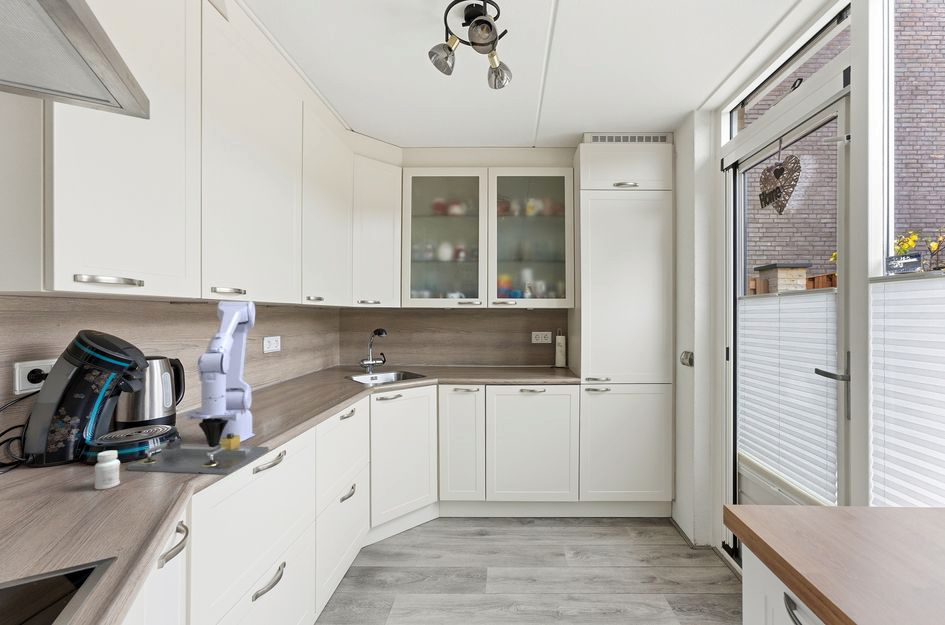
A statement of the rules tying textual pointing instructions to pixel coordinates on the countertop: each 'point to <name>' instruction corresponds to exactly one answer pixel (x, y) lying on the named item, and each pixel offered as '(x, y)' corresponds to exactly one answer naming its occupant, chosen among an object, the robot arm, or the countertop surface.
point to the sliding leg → (226, 444)
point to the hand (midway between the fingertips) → (214, 446)
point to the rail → (206, 451)
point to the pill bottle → (107, 470)
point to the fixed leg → (164, 446)
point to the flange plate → (197, 461)
